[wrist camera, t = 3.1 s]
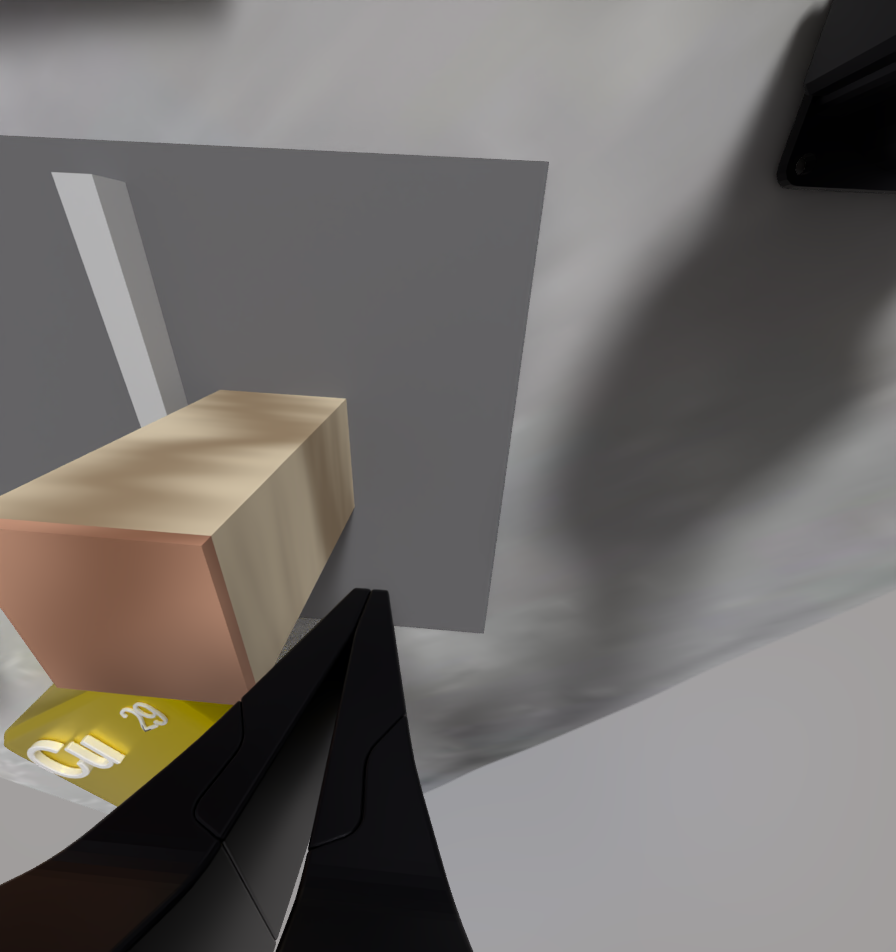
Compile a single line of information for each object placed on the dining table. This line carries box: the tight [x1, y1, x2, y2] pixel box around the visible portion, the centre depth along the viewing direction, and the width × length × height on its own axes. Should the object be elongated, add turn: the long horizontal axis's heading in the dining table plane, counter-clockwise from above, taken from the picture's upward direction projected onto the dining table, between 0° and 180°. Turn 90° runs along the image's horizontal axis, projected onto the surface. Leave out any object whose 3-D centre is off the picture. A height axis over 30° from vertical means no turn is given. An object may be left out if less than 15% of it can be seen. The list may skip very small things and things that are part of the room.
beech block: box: [0, 390, 355, 705], centre depth 12 cm, size 5×5×9 cm
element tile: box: [4, 684, 233, 807], centre depth 26 cm, size 15×15×5 cm
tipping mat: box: [0, 135, 549, 633], centre depth 16 cm, size 24×20×2 cm
